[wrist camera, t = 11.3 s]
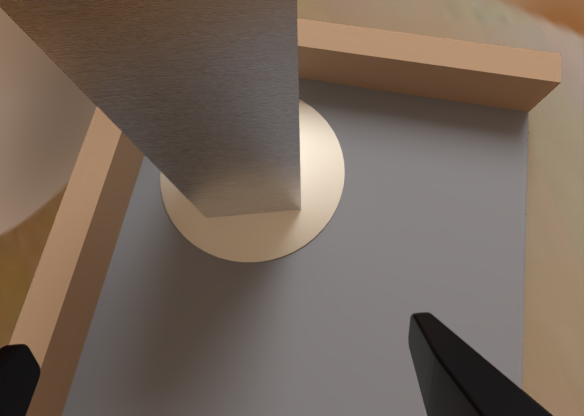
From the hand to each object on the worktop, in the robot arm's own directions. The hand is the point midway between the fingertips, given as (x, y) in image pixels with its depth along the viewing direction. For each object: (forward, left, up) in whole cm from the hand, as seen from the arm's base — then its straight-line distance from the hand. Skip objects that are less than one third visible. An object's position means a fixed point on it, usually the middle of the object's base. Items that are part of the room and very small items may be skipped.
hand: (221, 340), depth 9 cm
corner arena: (+4, -1, -8) cm, 10 cm away
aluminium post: (+7, +2, -8) cm, 11 cm away
